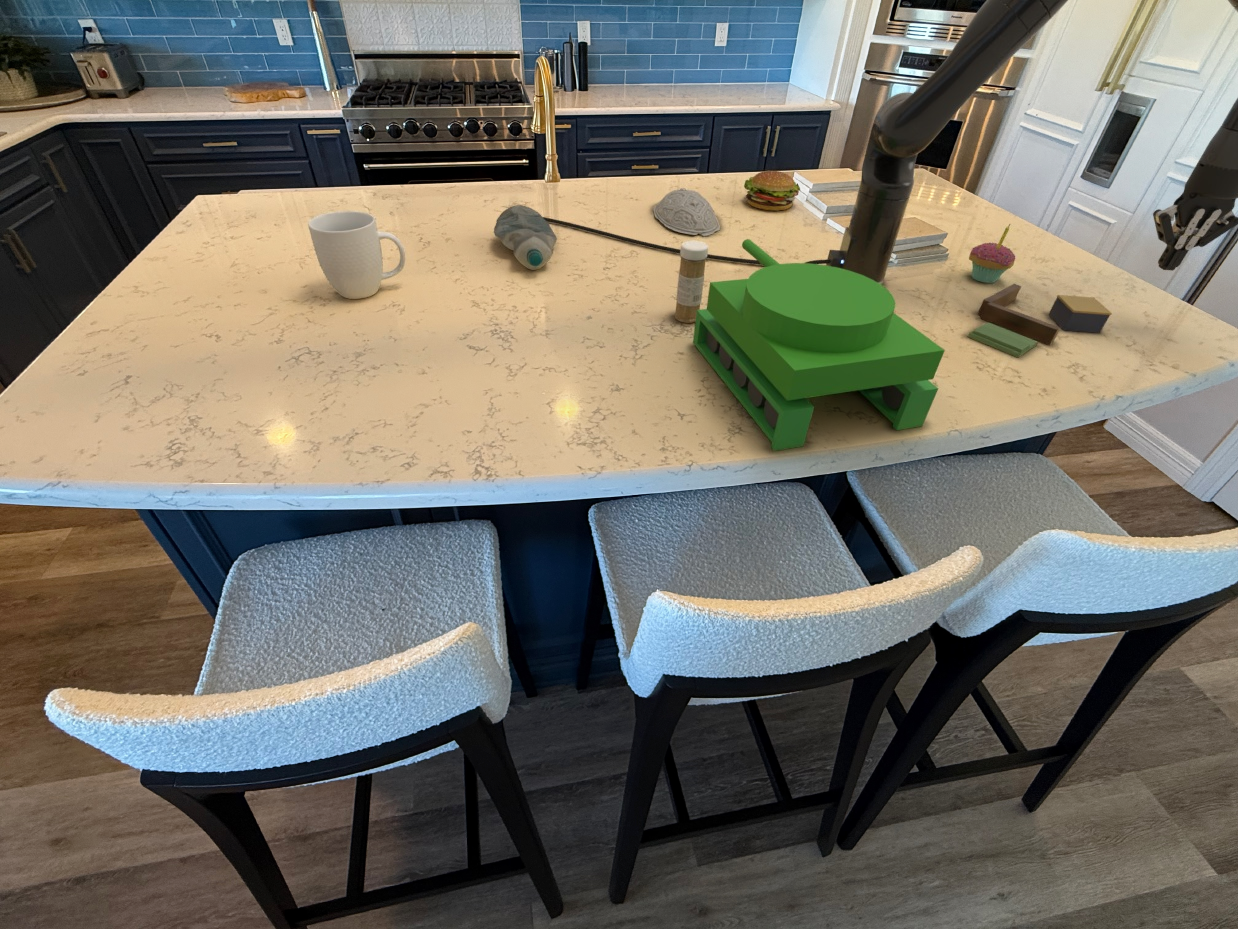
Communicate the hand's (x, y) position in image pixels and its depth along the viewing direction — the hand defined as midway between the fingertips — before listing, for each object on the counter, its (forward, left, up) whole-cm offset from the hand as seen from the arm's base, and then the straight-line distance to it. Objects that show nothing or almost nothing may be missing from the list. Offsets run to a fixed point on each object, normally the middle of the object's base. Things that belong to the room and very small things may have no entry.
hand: (1165, 268), depth 109 cm
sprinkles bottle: (-82, -10, -12) cm, 84 cm away
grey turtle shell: (-83, +44, -12) cm, 95 cm away
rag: (-27, -10, -11) cm, 30 cm away
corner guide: (-22, 0, -11) cm, 25 cm away
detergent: (-116, +14, -12) cm, 118 cm away
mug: (-142, -9, -12) cm, 143 cm away
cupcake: (-20, +19, -12) cm, 30 cm away
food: (-61, +60, -12) cm, 86 cm away
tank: (-65, -27, -12) cm, 71 cm away
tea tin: (-10, 0, -11) cm, 15 cm away
